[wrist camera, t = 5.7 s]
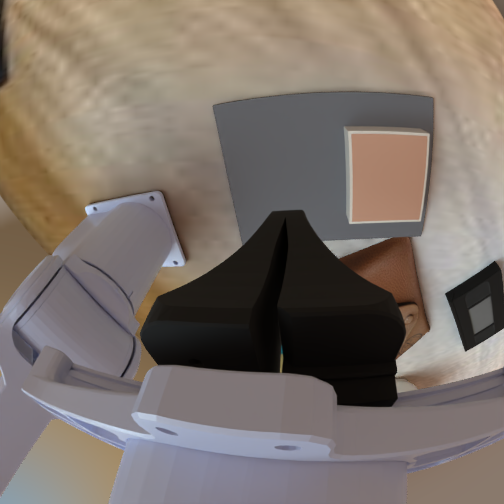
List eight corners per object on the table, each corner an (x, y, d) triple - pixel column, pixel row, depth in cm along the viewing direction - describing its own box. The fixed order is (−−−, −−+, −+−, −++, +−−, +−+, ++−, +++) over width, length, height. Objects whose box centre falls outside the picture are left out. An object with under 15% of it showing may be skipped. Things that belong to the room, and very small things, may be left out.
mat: (243, 242, 24) (242, 244, 24) (214, 105, 17) (212, 105, 17) (419, 233, 21) (421, 236, 21) (430, 97, 14) (433, 97, 14)
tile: (349, 224, 20) (420, 221, 18) (348, 131, 15) (429, 133, 14) (346, 213, 21) (414, 211, 20) (343, 126, 17) (420, 128, 16)
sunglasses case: (434, 331, 29) (419, 378, 26) (388, 327, 34) (371, 369, 31) (407, 225, 21) (389, 286, 18) (342, 230, 26) (314, 283, 23)
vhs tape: (493, 257, 21) (501, 269, 20) (500, 317, 27) (505, 327, 25) (443, 290, 25) (449, 303, 24) (461, 341, 30) (465, 351, 29)
